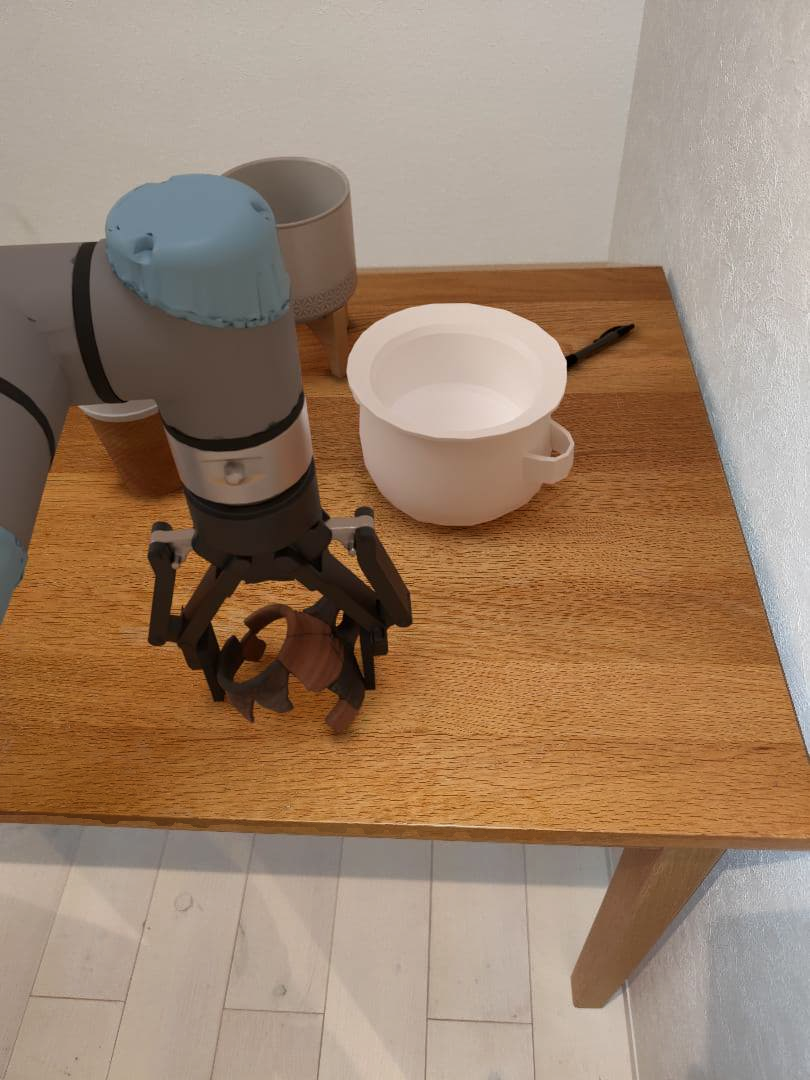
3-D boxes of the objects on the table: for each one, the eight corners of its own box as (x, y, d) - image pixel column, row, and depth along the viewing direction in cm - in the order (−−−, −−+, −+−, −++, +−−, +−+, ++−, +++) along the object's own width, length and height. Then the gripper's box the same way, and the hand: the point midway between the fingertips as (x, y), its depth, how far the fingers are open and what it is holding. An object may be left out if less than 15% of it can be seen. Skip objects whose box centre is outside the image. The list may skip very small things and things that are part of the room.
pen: (624, 325, 95) (626, 316, 94) (636, 332, 94) (638, 323, 93) (527, 378, 89) (528, 369, 89) (539, 386, 88) (540, 377, 88)
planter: (302, 301, 100) (281, 143, 87) (388, 345, 94) (379, 182, 81) (214, 356, 94) (176, 195, 80) (300, 407, 88) (274, 242, 74)
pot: (300, 479, 81) (281, 371, 72) (413, 381, 90) (410, 273, 81) (504, 590, 72) (513, 481, 63) (608, 467, 81) (629, 357, 72)
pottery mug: (327, 776, 62) (251, 717, 57) (256, 735, 69) (183, 679, 64) (419, 635, 66) (355, 568, 61) (343, 609, 73) (280, 548, 68)
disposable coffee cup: (85, 483, 82) (40, 378, 73) (159, 425, 87) (126, 320, 78) (158, 524, 78) (121, 419, 69) (232, 461, 83) (206, 355, 74)
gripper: (26, 528, 47) (134, 737, 64) (458, 497, 48) (454, 712, 64) (53, 433, 52) (147, 650, 69) (444, 406, 53) (443, 628, 69)
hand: (295, 680), depth 66 cm, fingers closed on pottery mug, 10 cm apart
